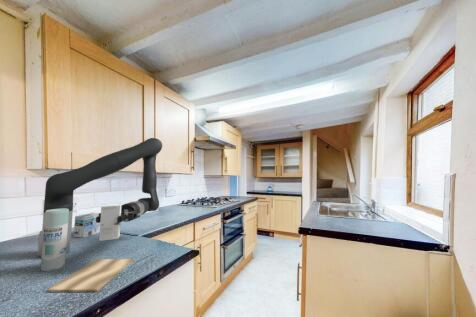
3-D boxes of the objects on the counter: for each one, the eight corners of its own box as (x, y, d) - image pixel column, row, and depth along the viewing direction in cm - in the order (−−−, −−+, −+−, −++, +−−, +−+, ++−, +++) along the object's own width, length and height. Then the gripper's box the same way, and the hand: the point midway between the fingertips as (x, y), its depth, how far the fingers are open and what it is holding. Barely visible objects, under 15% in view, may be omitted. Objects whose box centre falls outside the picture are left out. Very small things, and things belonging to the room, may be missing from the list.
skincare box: (98, 241, 69) (99, 206, 70) (101, 237, 73) (102, 204, 74) (119, 238, 71) (120, 205, 72) (120, 235, 75) (121, 203, 76)
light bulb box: (83, 238, 102) (84, 216, 103) (72, 237, 103) (74, 216, 104) (101, 232, 113) (102, 212, 113) (91, 231, 114) (92, 212, 115)
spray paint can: (68, 261, 74) (72, 207, 76) (59, 269, 68) (64, 210, 70) (46, 264, 72) (50, 208, 74) (35, 272, 66) (40, 212, 68)
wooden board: (46, 291, 55) (47, 289, 56) (96, 260, 75) (96, 259, 75) (97, 291, 56) (97, 289, 56) (133, 260, 76) (133, 259, 76)
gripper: (115, 202, 87) (88, 209, 71) (148, 202, 88) (128, 209, 71) (115, 219, 87) (87, 230, 70) (147, 219, 87) (127, 230, 71)
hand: (107, 219), depth 71 cm, fingers closed on skincare box, 7 cm apart
